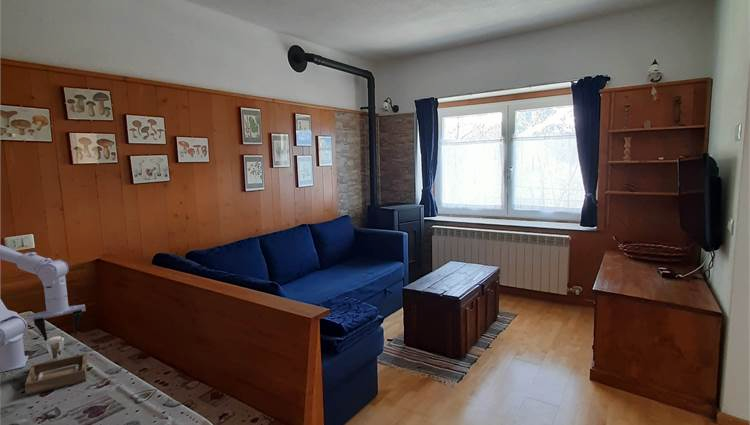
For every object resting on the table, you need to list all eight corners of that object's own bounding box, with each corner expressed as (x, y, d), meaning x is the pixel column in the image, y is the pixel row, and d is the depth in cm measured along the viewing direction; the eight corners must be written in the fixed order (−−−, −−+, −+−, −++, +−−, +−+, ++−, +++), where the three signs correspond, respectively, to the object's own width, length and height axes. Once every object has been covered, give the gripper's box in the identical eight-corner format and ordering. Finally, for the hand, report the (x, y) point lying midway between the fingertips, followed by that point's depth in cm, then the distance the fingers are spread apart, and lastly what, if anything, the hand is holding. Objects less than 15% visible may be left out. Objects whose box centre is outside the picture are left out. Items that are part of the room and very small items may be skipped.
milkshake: (58, 367, 130) (55, 338, 129) (45, 365, 131) (42, 337, 130) (71, 360, 134) (68, 333, 133) (58, 359, 135) (56, 331, 134)
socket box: (32, 376, 124) (31, 365, 124) (87, 363, 132) (86, 353, 132) (25, 396, 113) (24, 384, 112) (85, 381, 121) (85, 370, 120)
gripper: (26, 305, 122) (31, 346, 123) (84, 295, 131) (88, 333, 132) (27, 300, 127) (32, 339, 129) (82, 290, 136) (86, 327, 138)
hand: (60, 336), depth 131 cm, fingers open, 7 cm apart
